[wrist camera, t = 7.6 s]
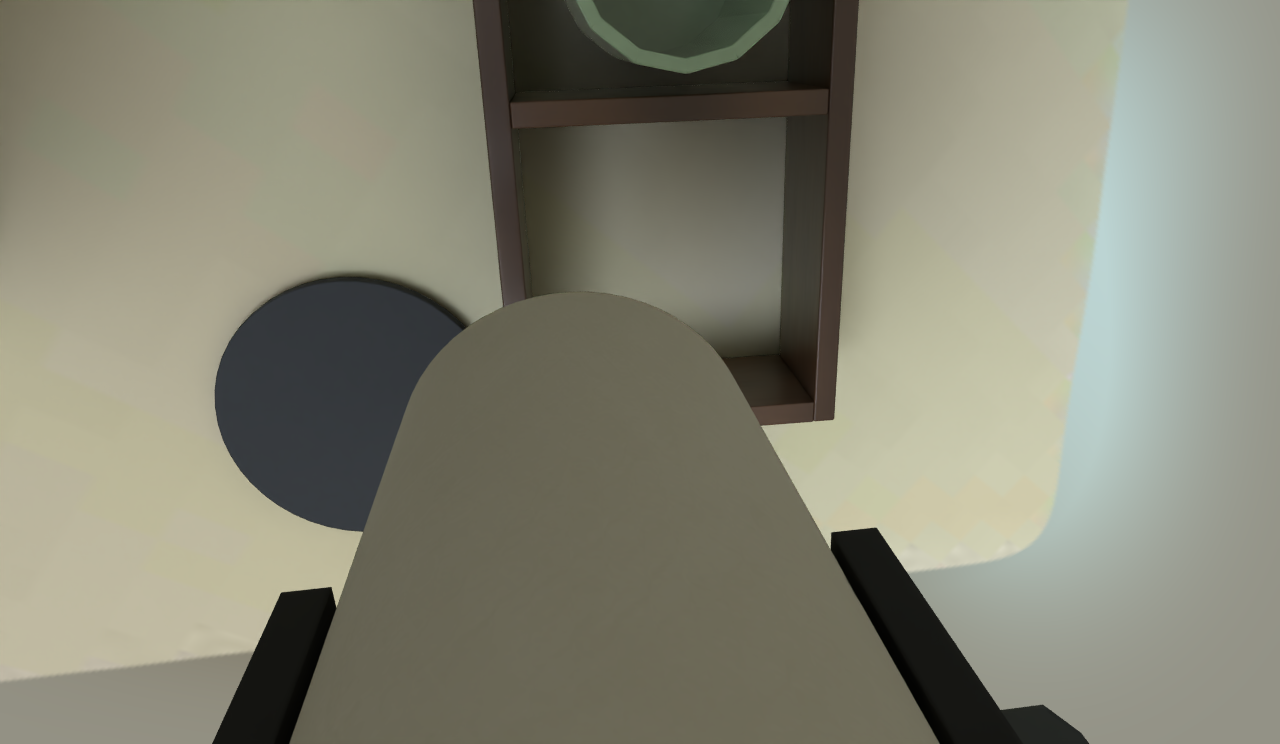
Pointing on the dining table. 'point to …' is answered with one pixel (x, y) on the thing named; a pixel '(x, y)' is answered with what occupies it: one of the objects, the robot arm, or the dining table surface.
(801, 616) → the travel mug
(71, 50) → the dining table surface
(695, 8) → the sage cup
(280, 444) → the slate coaster
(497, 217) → the cup holder
